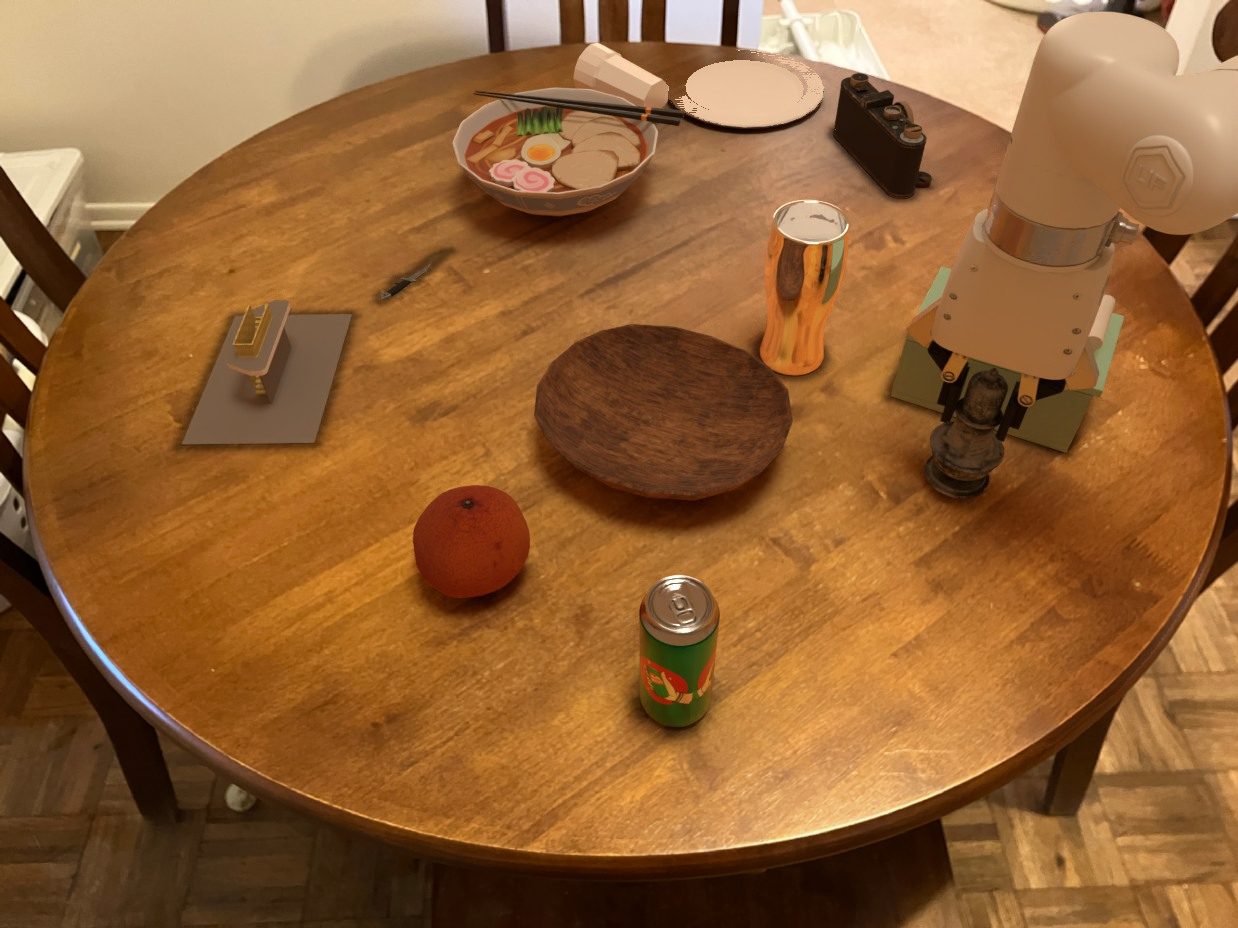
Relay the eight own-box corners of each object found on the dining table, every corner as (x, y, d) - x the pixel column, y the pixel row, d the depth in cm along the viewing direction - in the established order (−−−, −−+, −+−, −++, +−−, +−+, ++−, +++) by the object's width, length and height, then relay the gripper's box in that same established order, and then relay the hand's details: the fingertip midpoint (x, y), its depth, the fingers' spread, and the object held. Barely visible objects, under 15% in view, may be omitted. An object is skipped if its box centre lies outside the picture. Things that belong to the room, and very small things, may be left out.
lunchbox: (1088, 378, 90) (1115, 321, 85) (1066, 453, 84) (1093, 396, 79) (923, 329, 95) (939, 273, 90) (890, 396, 89) (905, 340, 84)
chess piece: (963, 512, 78) (1004, 407, 69) (905, 471, 81) (937, 365, 72) (1007, 477, 81) (1052, 370, 72) (949, 438, 84) (986, 331, 75)
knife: (445, 251, 106) (445, 248, 105) (457, 257, 105) (456, 253, 105) (373, 297, 101) (372, 293, 100) (385, 303, 100) (384, 299, 99)
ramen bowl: (418, 231, 108) (405, 165, 102) (499, 131, 122) (491, 68, 116) (632, 271, 102) (631, 204, 96) (690, 161, 117) (692, 96, 111)
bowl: (727, 569, 76) (732, 530, 72) (495, 471, 84) (489, 431, 80) (819, 414, 88) (827, 373, 84) (608, 339, 95) (606, 299, 91)
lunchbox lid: (1121, 322, 85) (1138, 286, 82) (1099, 398, 78) (1117, 361, 75) (939, 272, 90) (949, 236, 87) (905, 339, 84) (915, 303, 81)
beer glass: (795, 390, 90) (816, 255, 78) (739, 353, 93) (753, 220, 82) (842, 355, 93) (870, 221, 82) (787, 321, 96) (806, 189, 85)
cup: (634, 100, 118) (568, 68, 122) (644, 137, 124) (581, 105, 128) (667, 62, 119) (600, 31, 123) (676, 101, 125) (612, 70, 129)
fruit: (504, 509, 81) (493, 443, 75) (550, 586, 75) (542, 521, 69) (403, 550, 78) (384, 485, 72) (444, 633, 73) (426, 570, 67)
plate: (850, 86, 129) (852, 73, 128) (774, 155, 118) (775, 142, 117) (717, 47, 137) (717, 35, 136) (633, 108, 126) (633, 96, 125)
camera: (941, 191, 111) (958, 126, 105) (889, 202, 110) (903, 137, 104) (873, 122, 122) (884, 60, 116) (825, 132, 121) (834, 69, 115)
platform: (181, 444, 86) (153, 391, 82) (235, 315, 98) (214, 262, 94) (314, 442, 86) (294, 389, 81) (352, 314, 98) (336, 260, 93)
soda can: (693, 657, 71) (700, 559, 62) (722, 716, 68) (734, 622, 59) (629, 680, 70) (626, 584, 61) (656, 741, 67) (658, 649, 58)
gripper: (1193, 223, 62) (1094, 424, 76) (936, 163, 67) (887, 360, 81) (1177, 288, 58) (1076, 488, 71) (905, 218, 63) (858, 416, 77)
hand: (976, 418), depth 76 cm, fingers closed on chess piece, 3 cm apart
